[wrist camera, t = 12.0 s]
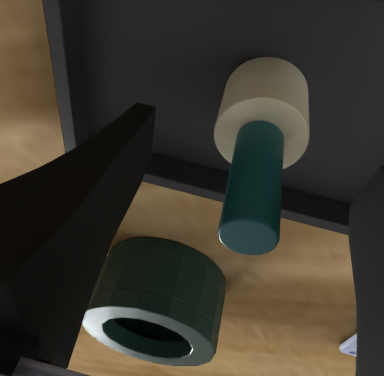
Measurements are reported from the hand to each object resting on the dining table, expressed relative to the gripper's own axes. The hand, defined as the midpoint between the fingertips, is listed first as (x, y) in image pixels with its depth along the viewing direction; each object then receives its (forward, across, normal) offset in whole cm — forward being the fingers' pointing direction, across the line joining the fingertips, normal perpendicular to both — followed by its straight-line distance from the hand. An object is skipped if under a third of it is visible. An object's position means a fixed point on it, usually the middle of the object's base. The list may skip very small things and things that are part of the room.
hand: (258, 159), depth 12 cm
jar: (+4, +2, +17) cm, 18 cm away
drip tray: (+4, 0, 0) cm, 4 cm away
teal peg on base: (+4, 0, 0) cm, 4 cm away
